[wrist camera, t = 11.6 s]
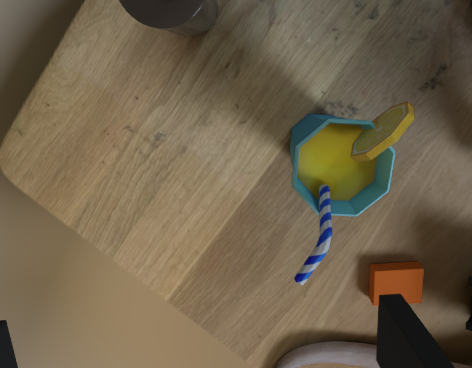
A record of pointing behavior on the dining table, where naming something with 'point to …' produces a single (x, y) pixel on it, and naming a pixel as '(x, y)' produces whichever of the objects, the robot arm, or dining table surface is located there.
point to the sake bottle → (174, 15)
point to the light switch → (471, 322)
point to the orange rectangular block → (396, 281)
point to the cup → (343, 167)
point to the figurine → (335, 355)
